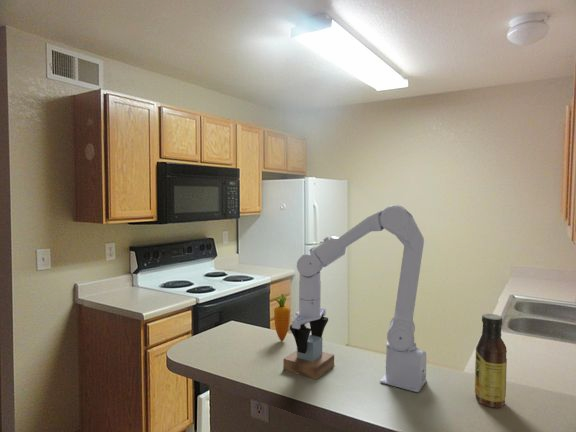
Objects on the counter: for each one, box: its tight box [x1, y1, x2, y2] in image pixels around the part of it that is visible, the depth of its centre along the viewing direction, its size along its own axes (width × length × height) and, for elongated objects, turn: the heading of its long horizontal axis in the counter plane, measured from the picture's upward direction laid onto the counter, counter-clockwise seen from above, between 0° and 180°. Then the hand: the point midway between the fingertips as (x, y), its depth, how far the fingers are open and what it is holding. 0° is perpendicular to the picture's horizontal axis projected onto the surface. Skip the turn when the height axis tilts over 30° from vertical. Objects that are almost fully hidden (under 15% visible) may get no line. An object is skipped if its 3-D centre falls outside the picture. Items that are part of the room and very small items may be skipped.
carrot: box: [273, 293, 291, 342], centre depth 127 cm, size 5×5×15 cm
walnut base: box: [283, 350, 335, 380], centre depth 108 cm, size 10×10×3 cm
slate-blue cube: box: [296, 334, 323, 362], centre depth 108 cm, size 5×5×5 cm
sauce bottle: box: [474, 313, 508, 409], centre depth 90 cm, size 6×6×20 cm
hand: (309, 347), depth 108 cm, fingers open, 7 cm apart
